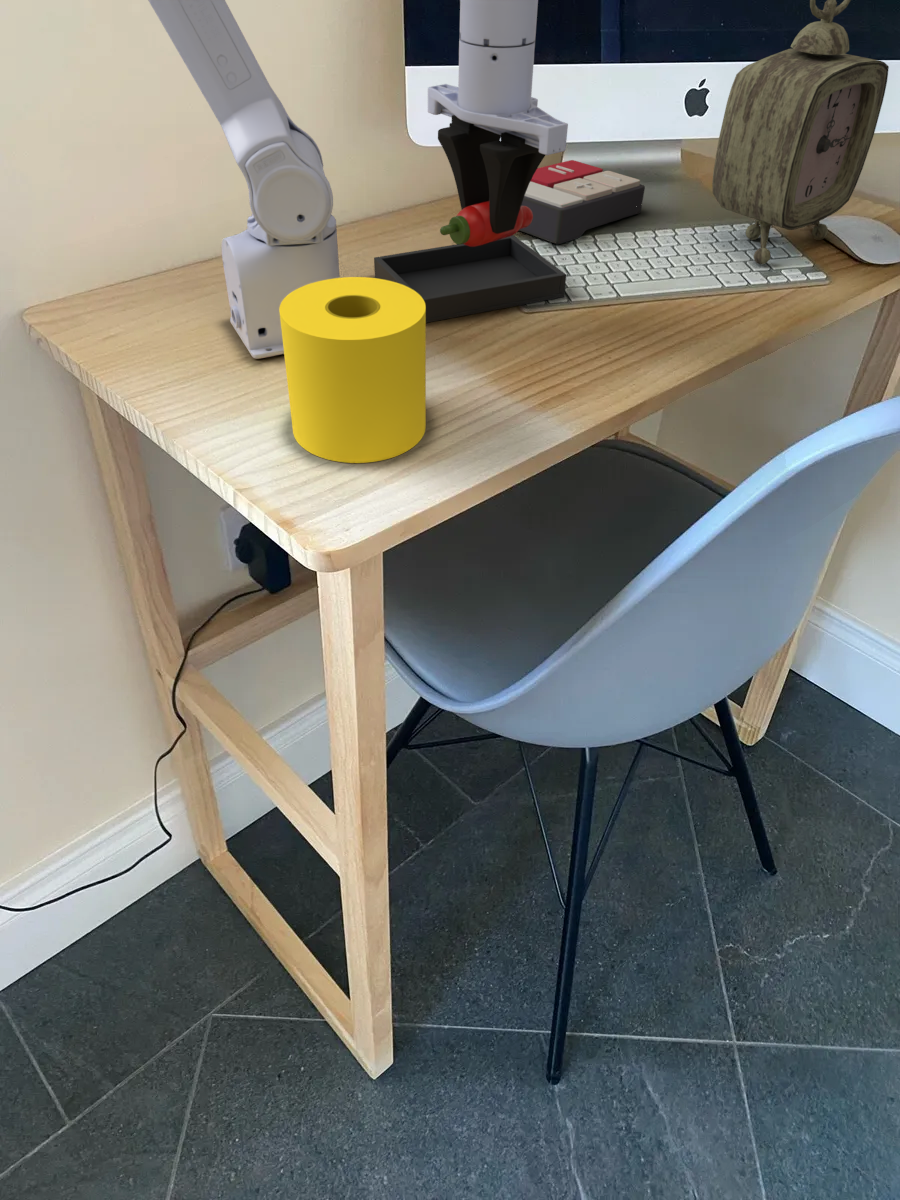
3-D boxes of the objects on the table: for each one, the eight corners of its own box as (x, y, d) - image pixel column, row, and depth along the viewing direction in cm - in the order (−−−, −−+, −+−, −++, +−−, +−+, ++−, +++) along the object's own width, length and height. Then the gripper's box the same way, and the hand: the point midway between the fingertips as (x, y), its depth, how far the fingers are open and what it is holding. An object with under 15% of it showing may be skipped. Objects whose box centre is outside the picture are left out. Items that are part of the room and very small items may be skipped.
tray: (417, 324, 82) (417, 301, 80) (374, 279, 89) (373, 257, 87) (564, 297, 87) (566, 274, 85) (512, 256, 94) (513, 234, 92)
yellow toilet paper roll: (449, 440, 68) (452, 320, 61) (326, 477, 64) (315, 352, 57) (388, 382, 74) (385, 267, 68) (272, 412, 70) (257, 293, 64)
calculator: (648, 178, 102) (563, 202, 93) (641, 218, 104) (558, 245, 96) (571, 155, 107) (485, 176, 99) (566, 194, 110) (482, 217, 101)
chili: (452, 260, 75) (453, 221, 73) (428, 248, 77) (428, 209, 75) (541, 233, 80) (544, 196, 78) (516, 223, 82) (519, 186, 79)
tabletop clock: (763, 275, 91) (838, -25, 75) (691, 248, 96) (746, -38, 80) (841, 241, 98) (926, -39, 82) (770, 217, 103) (836, -51, 87)
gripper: (604, 50, 66) (582, 238, 75) (475, 17, 74) (470, 191, 83) (533, 63, 63) (519, 259, 72) (406, 27, 71) (408, 207, 80)
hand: (488, 223), depth 77 cm, fingers closed on chili, 3 cm apart
